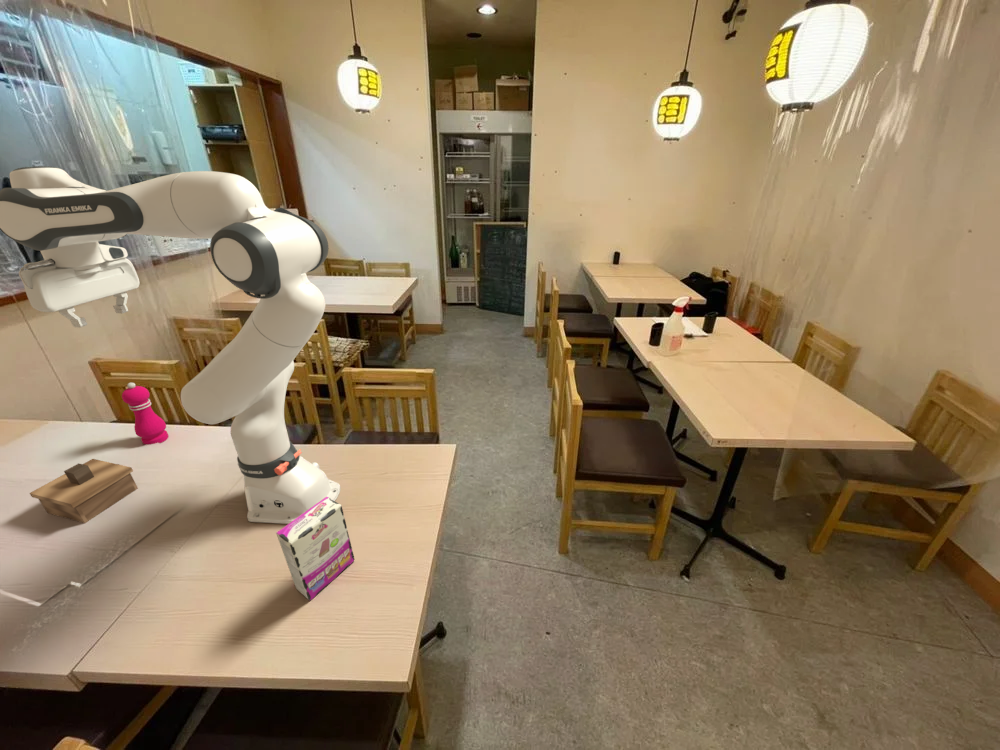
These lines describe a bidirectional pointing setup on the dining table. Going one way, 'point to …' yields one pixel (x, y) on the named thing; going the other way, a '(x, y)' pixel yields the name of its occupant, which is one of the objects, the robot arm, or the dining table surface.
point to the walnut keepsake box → (94, 501)
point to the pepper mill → (144, 415)
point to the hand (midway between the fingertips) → (102, 319)
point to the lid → (81, 482)
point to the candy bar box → (316, 547)
